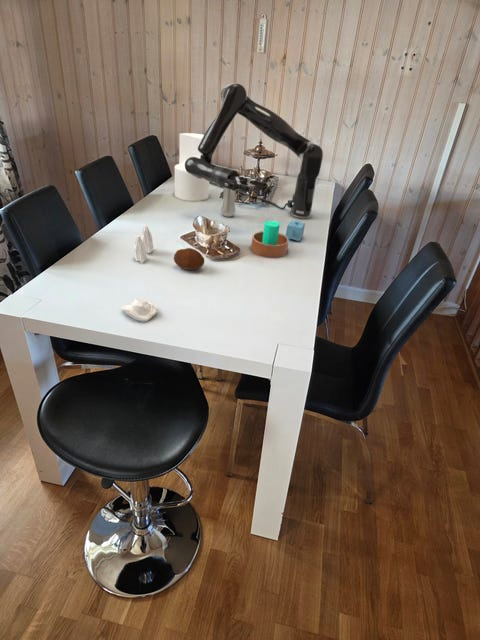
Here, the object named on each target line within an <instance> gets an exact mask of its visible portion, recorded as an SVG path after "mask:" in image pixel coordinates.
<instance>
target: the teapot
mask: <svg viewBox="0 0 480 640" xmlns="http://www.w3.org/2000/svg"><path fill="white" fill-rule="evenodd" d="M286 225H287V226H286V231H285V236H286V237H287V238H288V240H289V241H290V240H294V241H295V242H297V243H298V242H300V241H301V239H302V238H303V236H304V232H305V228H306V222H303V221H299V220H293V219H291V220H290V221H289V222H288V223H287V224H286Z"/></svg>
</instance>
